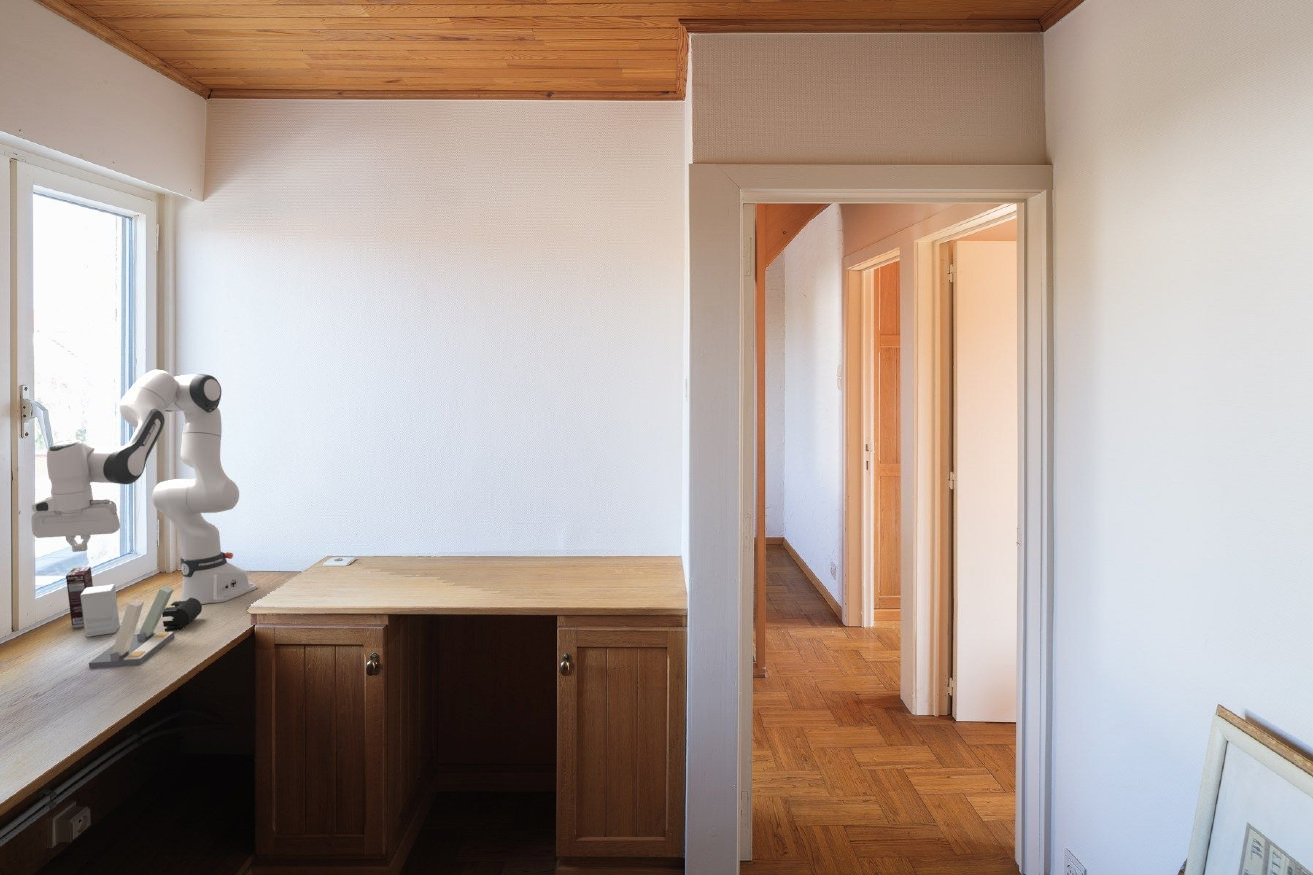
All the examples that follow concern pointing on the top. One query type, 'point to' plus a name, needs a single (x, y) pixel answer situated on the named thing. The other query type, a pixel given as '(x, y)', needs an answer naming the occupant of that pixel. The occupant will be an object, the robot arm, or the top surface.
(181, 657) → the top surface
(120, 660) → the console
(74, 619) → the supplement box
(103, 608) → the supplement box
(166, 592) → the bar
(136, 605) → the bar
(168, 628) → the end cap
